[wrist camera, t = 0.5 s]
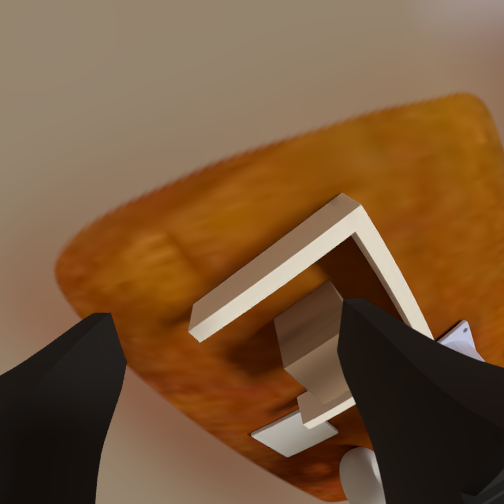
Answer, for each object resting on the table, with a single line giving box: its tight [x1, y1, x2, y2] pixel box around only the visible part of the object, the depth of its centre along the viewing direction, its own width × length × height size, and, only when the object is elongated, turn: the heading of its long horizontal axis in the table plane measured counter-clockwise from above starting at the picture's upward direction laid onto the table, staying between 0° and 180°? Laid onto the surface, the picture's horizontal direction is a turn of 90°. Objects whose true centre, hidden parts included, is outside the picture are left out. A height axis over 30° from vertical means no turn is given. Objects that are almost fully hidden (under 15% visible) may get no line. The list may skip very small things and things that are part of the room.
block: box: [273, 280, 349, 405], centre depth 19 cm, size 4×4×5 cm
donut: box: [340, 447, 386, 504], centre depth 24 cm, size 10×4×10 cm, turn 39°
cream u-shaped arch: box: [188, 193, 434, 429], centre depth 20 cm, size 13×12×3 cm
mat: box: [251, 409, 338, 457], centre depth 26 cm, size 6×6×1 cm
